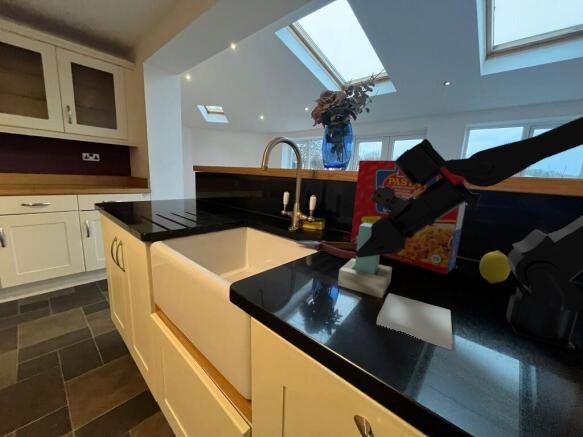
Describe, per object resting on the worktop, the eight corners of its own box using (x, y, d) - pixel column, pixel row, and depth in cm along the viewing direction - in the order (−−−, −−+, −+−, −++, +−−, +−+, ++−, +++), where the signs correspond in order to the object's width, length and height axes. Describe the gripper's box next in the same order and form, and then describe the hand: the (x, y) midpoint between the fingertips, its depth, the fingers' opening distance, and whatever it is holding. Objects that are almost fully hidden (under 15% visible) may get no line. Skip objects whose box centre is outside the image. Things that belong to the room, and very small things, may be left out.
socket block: (390, 282, 55) (392, 267, 54) (382, 298, 47) (384, 281, 47) (350, 272, 59) (352, 258, 59) (337, 285, 52) (339, 269, 51)
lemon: (503, 282, 59) (510, 250, 57) (509, 291, 54) (517, 256, 52) (475, 276, 61) (481, 245, 60) (478, 284, 57) (485, 251, 55)
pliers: (303, 241, 86) (304, 234, 85) (362, 251, 78) (363, 244, 77) (290, 250, 75) (291, 241, 75) (357, 262, 68) (358, 253, 67)
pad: (448, 316, 42) (450, 310, 42) (451, 350, 34) (452, 342, 33) (387, 298, 47) (388, 292, 47) (376, 324, 39) (377, 317, 38)
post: (376, 283, 54) (383, 225, 52) (371, 289, 51) (379, 228, 48) (358, 278, 56) (364, 222, 54) (352, 284, 53) (359, 225, 50)
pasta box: (350, 246, 81) (359, 160, 76) (362, 243, 87) (371, 162, 82) (446, 274, 62) (467, 160, 57) (454, 267, 67) (474, 163, 62)
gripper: (406, 173, 55) (352, 215, 62) (392, 170, 39) (323, 226, 46) (441, 213, 52) (380, 251, 60) (441, 226, 36) (359, 276, 44)
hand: (362, 250), depth 53 cm, fingers open, 9 cm apart
